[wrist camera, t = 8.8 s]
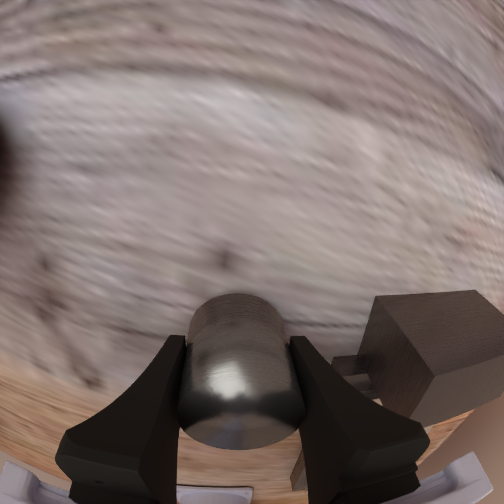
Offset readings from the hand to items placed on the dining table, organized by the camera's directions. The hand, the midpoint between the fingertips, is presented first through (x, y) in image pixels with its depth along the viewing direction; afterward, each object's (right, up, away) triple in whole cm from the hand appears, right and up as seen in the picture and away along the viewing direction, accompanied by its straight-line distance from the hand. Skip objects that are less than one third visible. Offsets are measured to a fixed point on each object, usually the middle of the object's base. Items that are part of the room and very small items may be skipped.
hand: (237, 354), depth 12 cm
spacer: (0, +1, +1) cm, 1 cm away
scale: (+10, -8, +6) cm, 14 cm away
